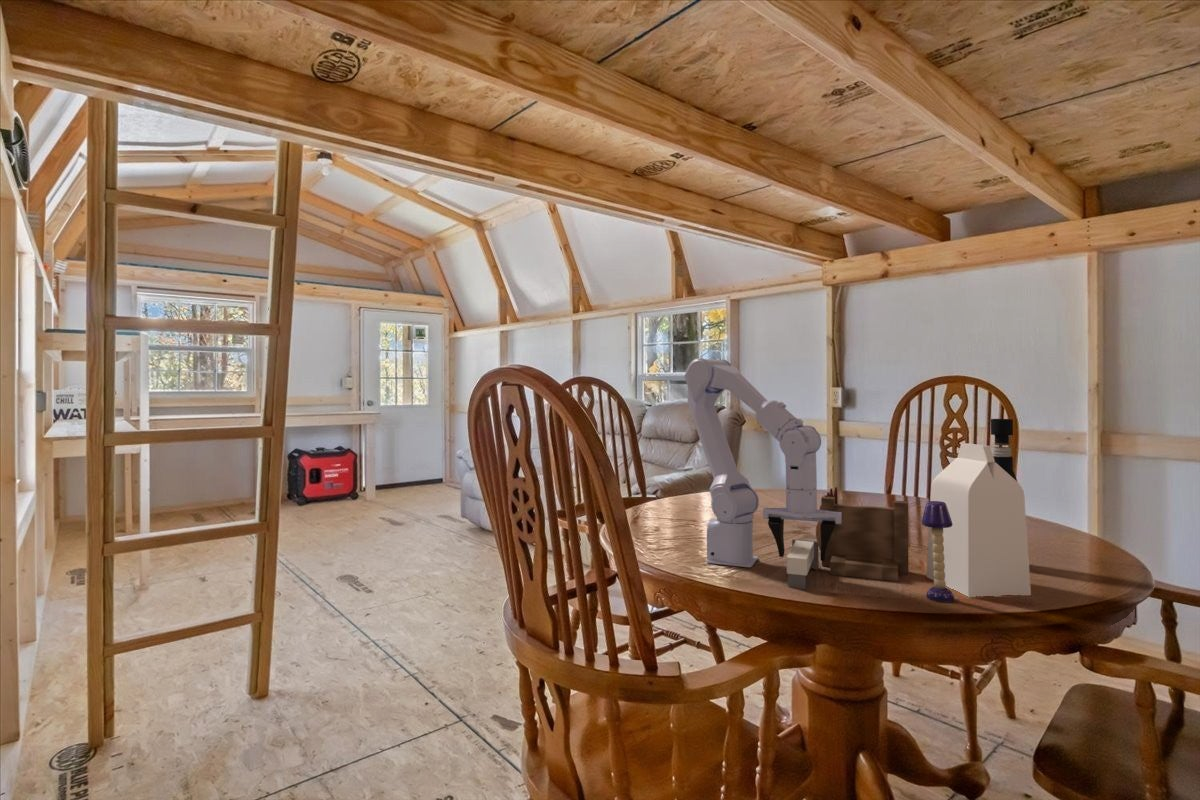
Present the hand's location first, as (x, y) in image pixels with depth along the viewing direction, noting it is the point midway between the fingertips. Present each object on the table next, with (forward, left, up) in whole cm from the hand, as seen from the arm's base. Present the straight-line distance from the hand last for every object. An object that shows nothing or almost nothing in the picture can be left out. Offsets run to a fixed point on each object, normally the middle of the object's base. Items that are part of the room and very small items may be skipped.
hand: (802, 557), depth 118 cm
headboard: (+11, +7, -4) cm, 14 cm away
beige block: (0, -1, -4) cm, 4 cm away
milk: (+30, +6, -4) cm, 31 cm away
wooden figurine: (+4, +20, -4) cm, 21 cm away
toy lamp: (+23, -4, -4) cm, 24 cm away
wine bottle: (+37, +24, -4) cm, 44 cm away
